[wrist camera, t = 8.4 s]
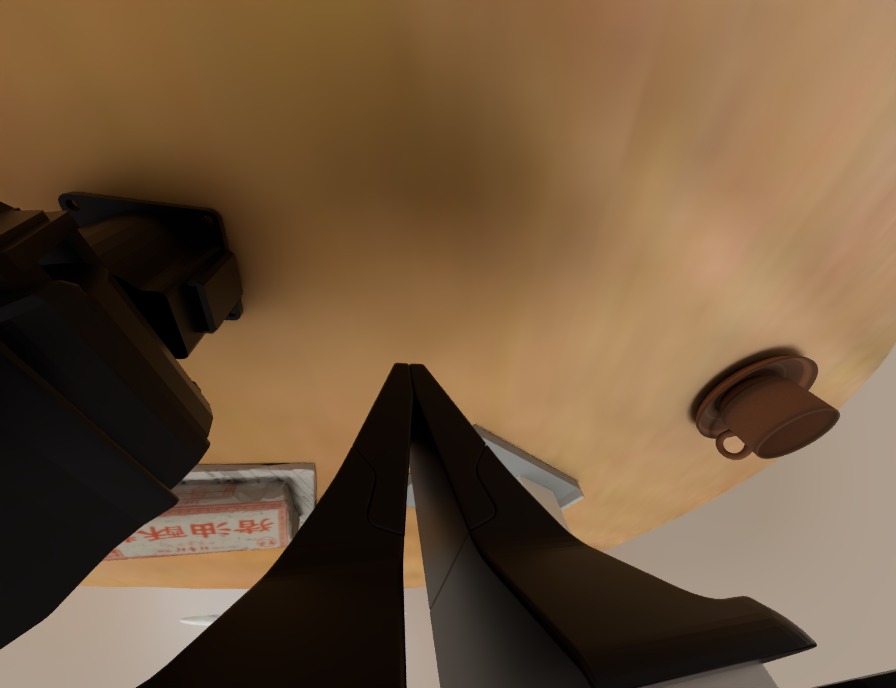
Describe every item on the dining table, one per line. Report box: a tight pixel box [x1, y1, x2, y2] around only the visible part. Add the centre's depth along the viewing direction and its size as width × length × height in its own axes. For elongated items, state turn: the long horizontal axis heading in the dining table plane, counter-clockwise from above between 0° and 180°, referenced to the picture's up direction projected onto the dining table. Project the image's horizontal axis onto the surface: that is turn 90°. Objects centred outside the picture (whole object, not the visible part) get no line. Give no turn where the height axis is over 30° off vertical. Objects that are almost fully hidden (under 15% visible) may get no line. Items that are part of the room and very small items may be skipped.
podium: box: [406, 425, 585, 511], centre depth 37 cm, size 20×13×2 cm, turn 46°
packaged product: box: [102, 463, 316, 561], centre depth 29 cm, size 18×5×10 cm
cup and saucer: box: [696, 355, 840, 460], centre depth 33 cm, size 12×12×6 cm
